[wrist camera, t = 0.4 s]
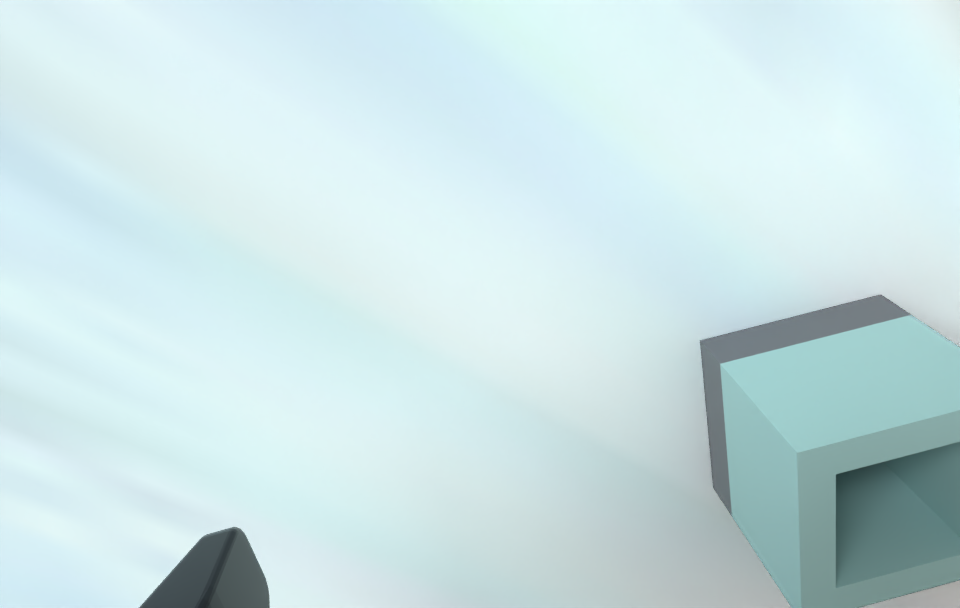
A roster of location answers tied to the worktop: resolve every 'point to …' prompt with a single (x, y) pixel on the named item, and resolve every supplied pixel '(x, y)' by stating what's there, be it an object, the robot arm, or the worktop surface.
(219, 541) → the robot arm
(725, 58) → the worktop surface
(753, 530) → the sleeve
